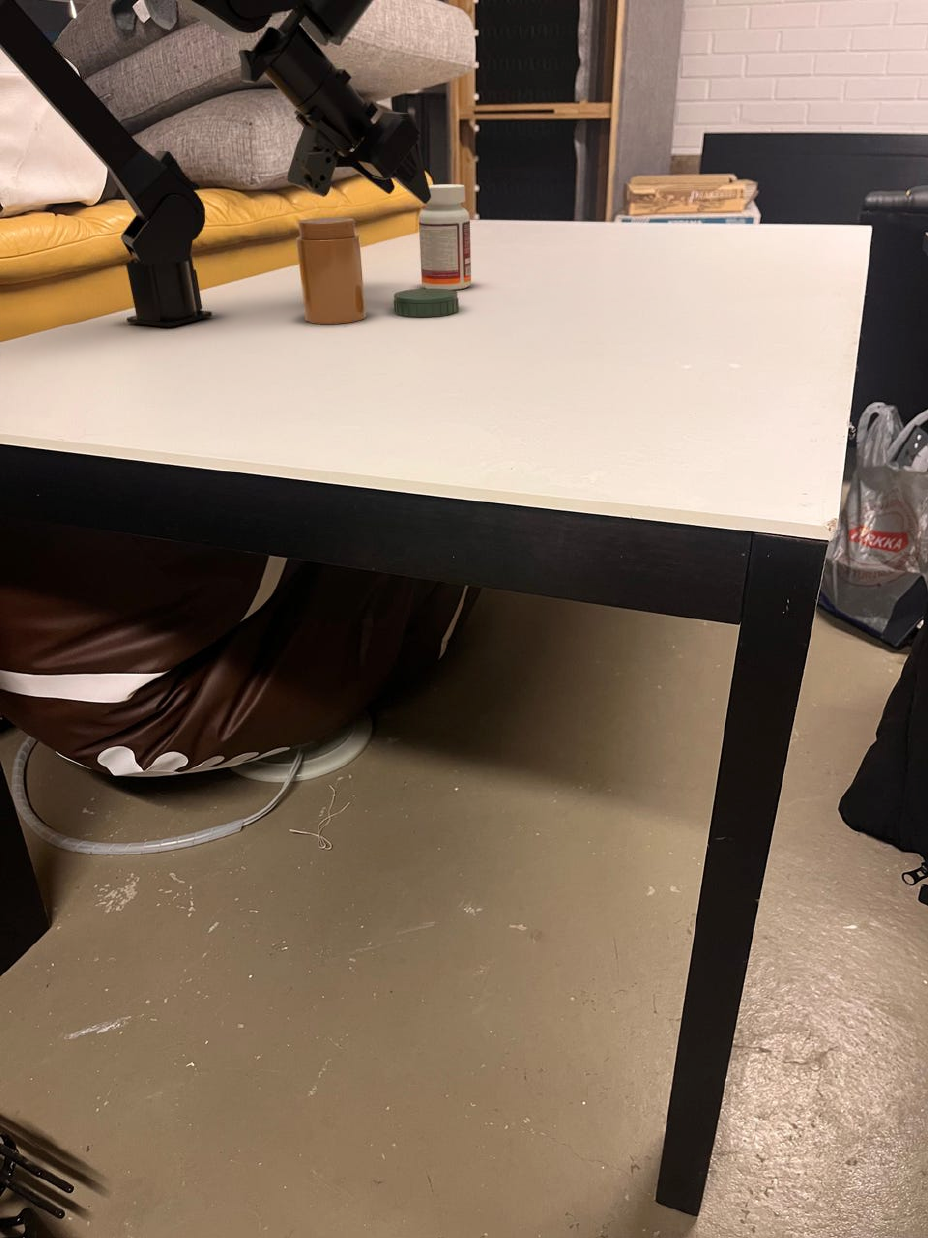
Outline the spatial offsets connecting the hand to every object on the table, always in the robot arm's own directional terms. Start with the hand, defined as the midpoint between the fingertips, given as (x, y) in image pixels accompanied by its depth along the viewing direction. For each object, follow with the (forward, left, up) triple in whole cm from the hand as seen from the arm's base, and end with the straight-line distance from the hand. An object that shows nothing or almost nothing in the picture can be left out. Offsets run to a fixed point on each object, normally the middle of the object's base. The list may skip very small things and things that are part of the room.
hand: (409, 195), depth 101 cm
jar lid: (-10, -8, -9) cm, 16 cm away
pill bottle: (+4, -2, -11) cm, 12 cm away
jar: (-17, -1, -11) cm, 20 cm away
